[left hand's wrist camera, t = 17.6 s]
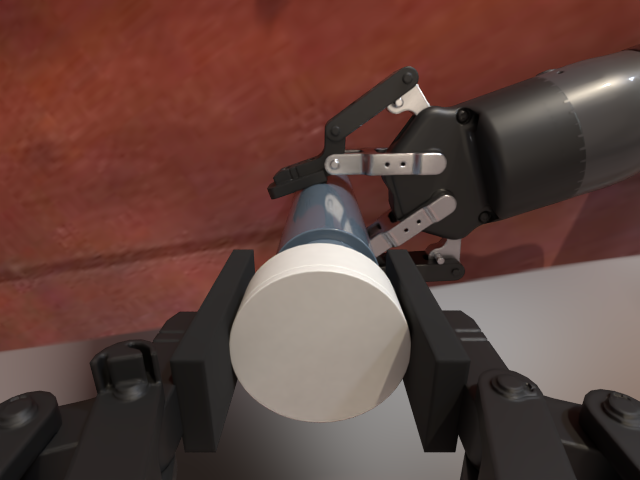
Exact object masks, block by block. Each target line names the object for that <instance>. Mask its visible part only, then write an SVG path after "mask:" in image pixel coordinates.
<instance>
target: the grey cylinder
mask: <svg viewBox="0 0 640 480" xmlns="http://www.w3.org/2000/svg"><path fill="white" fill-rule="evenodd" d="M327 178H328V181H326V182H323V183H320V184H317V185H313V186H311V187H308V188H305V189H302V190H300V191H297V192H296V193H295V196H294V199H293V202H292V205H291V208H290V212H289V215H288V218H287V221H286V224H285V227H284V231H283V234H282V237H281V240H280V243H279V246H278V250H277V253H276V255H277V254H279V253H281V252H283V251H285V250H287V249H290V248H293V247H296V246H300V245H305V244H314V243H327V244H335V245H340V246H344V247H347V248H350V249H353V250H355V251H357V252H359V253H361V254H363V255H365V256H366V257H368V258H369V259H371V260H372V261H373V262H374V263H376V264H377V265H378V262H377V259H376V256H375V253H374V250H373V247H372V244H371V241H370V238H369V236H368V233H367V230H366V227H365V224H364V221H363V218H362V215H361V212H360V209H359V206H358V203H357V200H356V197H355V194H354V191H353V189H352V186H351V183H350V180H349V178H348V177H347V175H330V176H327ZM378 266H379V265H378Z"/></svg>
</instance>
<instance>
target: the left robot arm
mask: <svg viewBox="0 0 640 480" xmlns="http://www.w3.org/2000/svg"><path fill="white" fill-rule="evenodd" d="M254 274H255V266H254V251H253V250H233V252H232V253H231V255H230V257H229V259H228V260H227V262H226V264H225V266H224V267H223V269H222V271H221V272H220V274H219V276H218V278H217V279H216V281H215V283H214V284H213V286H212V288H211V290H210V291H209V293H208V295H207V297H206V298H205V300H204V302H203V303H202V305H201V307H200V309H199V310H198V312H179V313H177V314H176V315H174V316H173V317H171V318H170V319H169V320H167V321H166V323H165V324H164V326H163V327H162V328H161V330H160V331H159V333H158V334H157V336H156V337H155V338H154V340H153V342H152V343H151V342H150V341H145V340H128V341H124V342H119V343H116V344H114V345H111V346H109V347H107V348H105V349H104V350H102V351H101V352H99V353H98V354H96V355H95V356H94V358H93V359H92V360H91V362H90V366H91V370H92V374H93V378H94V382H95V386H96V390H97V393H98V394H97V397H95V398H92V399H89V400H84V401H80V402H76V403H71V404H67V405H62V406H58V403H57V400H56V397H55V396H54V395H53V394H51V393H50V392H45V391H34V392H27V393H24V394H21V395H17V396H15V397H12V398H10V399H8V400H6V401H4V402H3V403H1V404H0V480H176V477H177V461H176V455H175V452H176V449H177V447H178V444H179V442H180V440H181V437H182V438H183V444H184V450H185V452H216V450H217V446H218V443H219V440H220V436H221V433H222V430H223V426H224V423H225V419H226V416H227V413H228V409H229V406H230V403H231V399H232V396H233V392H234V389H235V386H236V382H237V379H238V378H237V376H236V374H235V372H234V370H233V367H232V364H231V358H230V348H229V339H230V332H231V328H232V325H233V322H234V319H235V317H236V314H237V312H238V309H239V307H240V304H241V301H242V299H243V296H244V294H245V291H246V289H247V287H248V285H249V282H250V281H251V279H252V278H253V276H254ZM385 274H386V276H387V277H388V279H389V280H390V282H391V284H392V286H393V288H394V291H395V293H396V296H397V299H398V301H399V304H400V306H401V309H402V311H403V314H404V316H405V319H406V322H407V325H408V328H409V331H410V337H411V351H410V360H409V364H408V367H407V370H406V373H405V375H404V377H403V382H404V385H405V388H406V392H407V395H408V398H409V402H410V405H411V409H412V412H413V415H414V419H415V422H416V425H417V429H418V432H419V436H420V439H421V442H422V446H423V449H424V452H455V451H456V445H457V439H458V435H459V437H460V440H461V442H462V444H463V447H464V449H465V455H464V461H463V467H462V472H461V477H460V480H640V401H638V400H636V399H634V398H632V397H630V396H628V395H625V394H622V393H619V392H616V391H610V390H603V389H599V390H592V391H590V392H589V393H587V394H586V395H585V397H584V401H583V404H582V405H581V404H576V403H572V402H567V401H562V400H558V399H554V398H550V397H547V396H543V394H542V392H541V391H540V389H539V388H538V386H537V385H536V384H535V383H534V382H532V381H531V380H530V379H529V378H527V377H525V376H523V375H521V374H519V373H517V372H514V371H511V370H509V369H508V368H507V366H506V365H505V364H504V362H503V361H502V359H501V358H500V356H499V355H498V354H497V352H496V351H495V349H494V348H493V347H492V345H491V344H490V342H489V341H487V338H486V336H485V335H484V334H483V332H481V329H480V328H479V327H478V325H477V324H476V322H475V321H474V320H473V319H472V318H471V317H469V316H468V315H466V314H465V313H463V312H462V311H442V310H441V308H440V306H439V305H438V303H437V301H436V300H435V298H434V296H433V294H432V293H431V291H430V289H429V287H428V286H427V284H426V282H425V281H424V279H423V277H422V275H421V274H420V272H419V270H418V269H417V267H416V265H415V263H414V262H413V260H412V258H411V256H410V255H409V253H408V251H407V250H387V255H386V270H385Z"/></svg>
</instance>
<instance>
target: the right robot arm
mask: <svg viewBox="0 0 640 480" xmlns="http://www.w3.org/2000/svg"><path fill="white" fill-rule="evenodd" d="M418 78H419V77H418V72H417V71H416V70H415V69H414V68H413V67H409V66H407V67H404V68H402V69H399V70H397V71H395V72H393V73H392V74H391V75H389V76H388V77H387V78H385V79H384V80H383V81H381V82H380V83H379V84H377V85H376V86H375V87H373V88H372V89H371V90H369V91H368V92H366V93H365V94H364V95H362V96H361V97H360V98H358V99H357V100H356V101H354V102H353V103H352V104H350V105H349V106H348V107H346V108H345V109H344V110H342V111H341V112H339V113H338V114H337V115H335V116H334V117H333V118H331V119H330V120H329V121H328V122H327V123H326V125H325V146H324V149H323V151H322V152H321V154H319V155H318V156H315V157H313V158H310V159H307V160H304V161H301V162H299V163H296V164H293V165H290V166H287V167H284V168H282V169H281V170H280V171H279V172H277V173H276V174H275V176H274V177H273V179H274V182H273V183H271V184H270V185H269V187H268V188H267V190H268V192H269V194H270V197H271V199H276V198H279V197H282V196H285V195H288V194H291V193H294V192H297V191H300V190H302V189H305V188H308V187H311V186H313V185H317V184H320V183H323V182H326V181H328V178H327V176H330V175H352V174H364V175H381V177H382V179H383V181H384V183H385V184H386V186H387V187H388V189H389V204H390V207H391V209H389V210H388V211H386V212H385V213H383V214H382V215H381V216H379V218H378V219H377V221H376V222H374V223H373V224H372V225H370V226H369V227H367V228H366V230H367V233H368V236H369V238H370V241H371V244H372V247H373V250H374V253H375V256H376V259H377V262H378V265H379V267H380V268H381V269H382V271H383V272H384V273H385V270H386V255H387V253H384V252H385V251H387V250H388V249H390V248H391V247H398V246H400V245H401V244H403V243H404V242H406V241H407V240H409V239H410V238H412V237H413V236H415V235H416V234H418V233H419V232H421V231H422V232H425V233H429V234H432V235H436V236H439V237H442V239H441V240H440V241H439V242H437V243H435V244H431V245H429V246H428V247H427V248H426V250H425V251H412V252H408V253H409V255H410V256H411V258H412V260H413V262H414V263H415V265H416V267H417V269H418V270H419V272H420V274H421V275H422V277H423V279H424V281H425V282H431V281H452V280H459V279H460V278H462V277H463V275H464V273H465V269H464V267H463V266H462V264H461V263H460V247H461V239H462V238H464V237H466V236H467V235H468V234H469V233H470V232H471V231H472V230H474V229H475V228H476V227H478V226H480V225H482V224H485V223H490V222H495V221H500V220H503V219H506V218H509V217H513V216H516V215H519V214H522V213H525V212H528V211H531V210H535V209H538V208H541V207H544V206H547V205H551V204H554V203H557V202H560V201H563V200H567V199H569V198H573V197H576V196H579V195H582V194H585V193H589V192H592V191H595V190H598V189H601V188H605V187H607V186H610V185H613V184H616V183H618V182H620V181H623V180H625V179H627V178H629V177H631V176H633V175H636V174H638V173H640V44H639V45H636V46H633V47H631V48H628V49H625V50H622V51H620V52H617V53H613V54H610V55H605V56H601V57H596V58H591V59H587V60H583V61H579V62H576V63H573V64H570V65H567V66H564V67H561V68H558V69H552V70H551V69H550V70H547V71H544V72H542V73H540V74H538V75H536V76H535V77H533V78H530V79H527V80H525V81H522V82H519V83H516V84H513V85H511V86H508V87H505V88H502V89H499V90H497V91H494V92H491V93H488V94H485V95H483V96H480V97H477V98H474V99H471V100H469V101H466V102H463V103H460V104H457V105H455V106H451V107H439V106H430V105H429V104H428V102H427V100H426V98H425V97H424V95H423V93H422V92H421V90H420V88H419V86H418V85H417V83H418ZM384 109H386V110H387V111H388V112H390V113H394V114H398V113H401V112H403V111H406V110H407V111H409V112H411V113H412V117H411V118H410V119H409V121H408V122H407V124H406V125H405V126H404V128H403V129H402V130H401V132H400V133H399V134H398V136H397V137H396V138H395V140H394V141H393V142H392V144H391V145H390V147H377V148H361V149H345V137H346V136H348V135H349V134H350V133H352V132H353V131H355V130H356V129H357V128H359V127H360V126H361V125H363V124H364V123H366V122H367V121H368V120H370V119H371V118H373V117H374V116H375V115H377V114H378V113H379V112H381V111H382V110H384ZM405 228H406V229H405ZM404 229H405V230H404Z"/></svg>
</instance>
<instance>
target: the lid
mask: <svg viewBox="0 0 640 480" xmlns="http://www.w3.org/2000/svg"><path fill="white" fill-rule="evenodd" d="M229 348H230V358H231V364H232V367H233V370H234V372H235V374H236V376H237V378H238V380H239V382H240V383H241V385H242V386H243V387H244V389H245V390H246V391H247V392H248V393H249V394H250V395H251V397H253V398H254V399H255V400H256V401H257V402H259V403H260V404H261V405H263V406H264V407H266V408H267V409H269V410H271V411H273V412H275V413H277V414H279V415H282V416H285V417H287V418H291V419H295V420H299V421H305V422H317V423H324V422H335V421H341V420H346V419H349V418H353V417H356V416H358V415H361V414H363V413H365V412H367V411H369V410H371V409H373V408H374V407H376V406H377V405H379V404H380V403H382V402H383V401H384V400H385V399H386V398H388V397H389V396H390V395H391V393H392V392H393V391H394V390H395V389H396V388H397V386H398V385H399V383H400V382H401V381H402V379H403V377H404V375H405V373H406V370H407V367H408V364H409V360H410V351H411V337H410V331H409V328H408V325H407V322H406V319H405V316H404V314H403V311H402V309H401V306H400V304H399V301H398V299H397V296H396V293H395V291H394V288H393V286H392V284H391V282H390V280H389V279H388V277H387V276H386V274H385V273H384V272H383V271H382V269H381V268H380V267H379V266H378V265H377V264H376V263H374V262H373V261H372V260H371V259H369V258H368V257H366V256H365V255H363V254H361V253H359V252H357V251H355V250H353V249H350V248H347V247H344V246H340V245H335V244H327V243H314V244H305V245H300V246H296V247H293V248H290V249H287V250H285V251H283V252H281V253H279V254H277V255H275V256H274V257H272V258H271V259H269V260H268V261H267V262H266V263H265V264H263V265H262V266H261V267H260V269H259V270H258V271H257V272H256V273H255V274H254V276H253V278H252V279H251V281H250V282H249V285H248V287H247V289H246V291H245V294H244V296H243V299H242V301H241V304H240V307H239V309H238V312H237V314H236V317H235V319H234V322H233V325H232V328H231V332H230V339H229Z"/></svg>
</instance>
